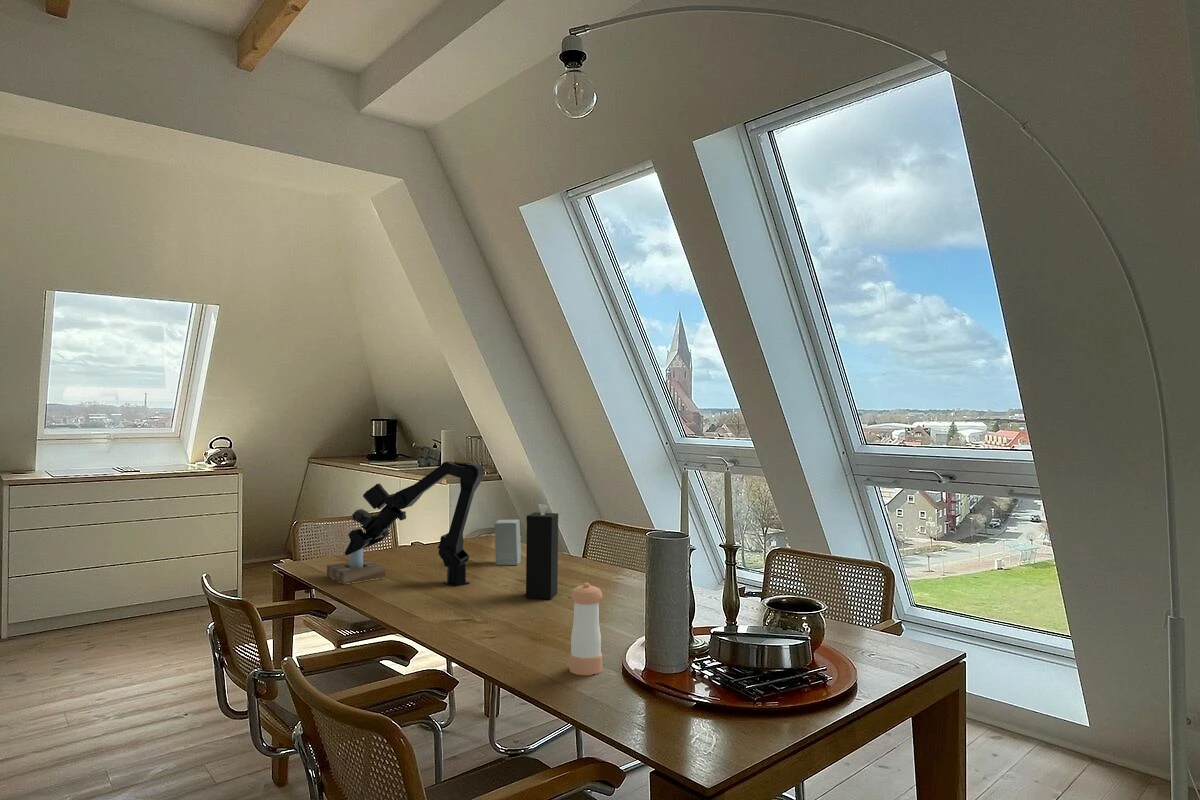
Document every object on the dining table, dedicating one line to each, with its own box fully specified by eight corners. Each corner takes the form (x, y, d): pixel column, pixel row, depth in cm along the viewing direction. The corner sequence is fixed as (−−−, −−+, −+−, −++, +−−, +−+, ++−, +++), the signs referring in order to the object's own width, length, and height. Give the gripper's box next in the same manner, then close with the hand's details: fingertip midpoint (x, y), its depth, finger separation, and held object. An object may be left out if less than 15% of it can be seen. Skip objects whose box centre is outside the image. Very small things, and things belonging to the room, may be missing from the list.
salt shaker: (562, 671, 170) (563, 583, 170) (581, 662, 176) (582, 577, 176) (589, 678, 166) (590, 588, 166) (608, 668, 172) (609, 582, 172)
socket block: (385, 578, 256) (385, 566, 256) (343, 585, 246) (343, 572, 246) (366, 571, 266) (367, 559, 266) (326, 577, 257) (326, 565, 257)
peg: (365, 577, 258) (366, 535, 258) (357, 580, 254) (358, 537, 254) (354, 576, 259) (354, 534, 259) (346, 579, 255) (346, 536, 255)
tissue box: (550, 600, 231) (551, 506, 231) (525, 598, 232) (526, 505, 232) (557, 593, 239) (558, 502, 239) (532, 592, 240) (533, 501, 240)
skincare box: (521, 562, 284) (521, 519, 284) (517, 566, 277) (517, 522, 277) (498, 561, 285) (498, 518, 285) (493, 565, 278) (494, 521, 278)
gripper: (380, 498, 265) (350, 529, 267) (354, 505, 246) (322, 538, 248) (402, 522, 263) (371, 553, 265) (377, 531, 245) (344, 564, 247)
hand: (352, 551), depth 257 cm, fingers open, 9 cm apart
